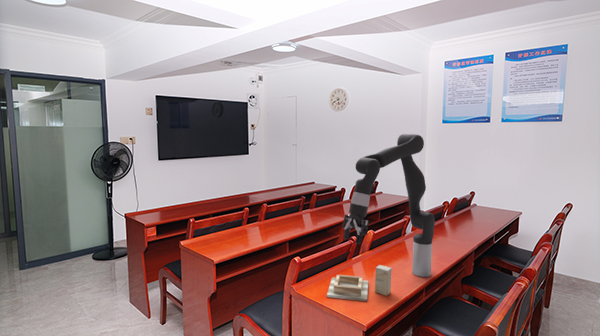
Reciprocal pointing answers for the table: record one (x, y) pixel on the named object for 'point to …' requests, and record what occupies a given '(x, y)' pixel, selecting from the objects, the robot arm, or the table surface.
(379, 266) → the skincare box
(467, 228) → the table surface
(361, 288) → the square collar plate
